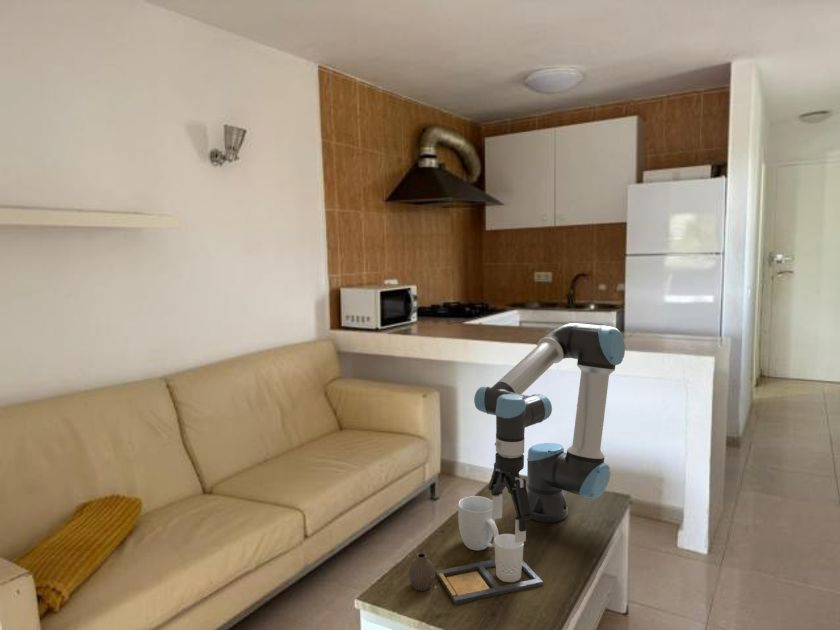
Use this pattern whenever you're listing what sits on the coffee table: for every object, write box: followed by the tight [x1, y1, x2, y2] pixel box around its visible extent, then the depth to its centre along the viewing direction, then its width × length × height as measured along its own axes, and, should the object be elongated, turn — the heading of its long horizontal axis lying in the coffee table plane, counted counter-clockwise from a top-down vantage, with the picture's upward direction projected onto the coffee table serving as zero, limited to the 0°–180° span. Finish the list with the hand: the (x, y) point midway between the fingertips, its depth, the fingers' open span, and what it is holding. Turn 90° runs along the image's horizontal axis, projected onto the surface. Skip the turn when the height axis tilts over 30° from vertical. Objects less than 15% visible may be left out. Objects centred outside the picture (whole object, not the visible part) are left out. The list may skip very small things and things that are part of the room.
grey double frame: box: [435, 558, 544, 605], centre depth 154 cm, size 25×14×1 cm, turn 108°
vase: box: [408, 552, 436, 592], centre depth 151 cm, size 7×7×9 cm
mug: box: [457, 495, 500, 551], centre depth 169 cm, size 15×11×13 cm
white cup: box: [493, 533, 525, 583], centre depth 155 cm, size 8×8×10 cm
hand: (508, 529), depth 154 cm, fingers open, 13 cm apart
